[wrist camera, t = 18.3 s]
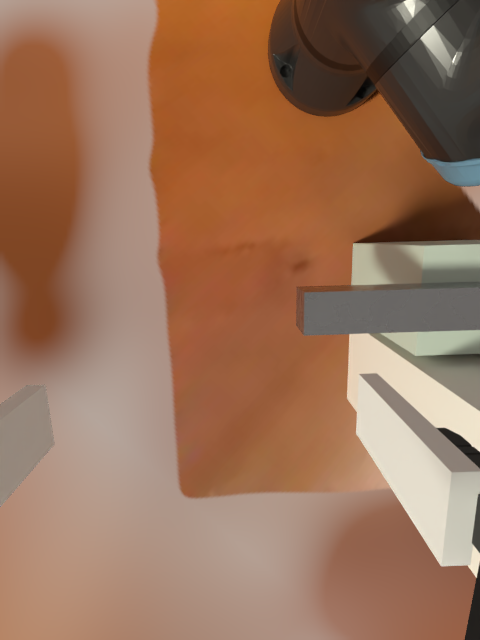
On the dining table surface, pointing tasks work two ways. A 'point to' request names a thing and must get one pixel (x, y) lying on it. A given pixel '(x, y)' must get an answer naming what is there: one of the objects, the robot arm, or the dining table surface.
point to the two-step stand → (422, 338)
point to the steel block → (388, 308)
